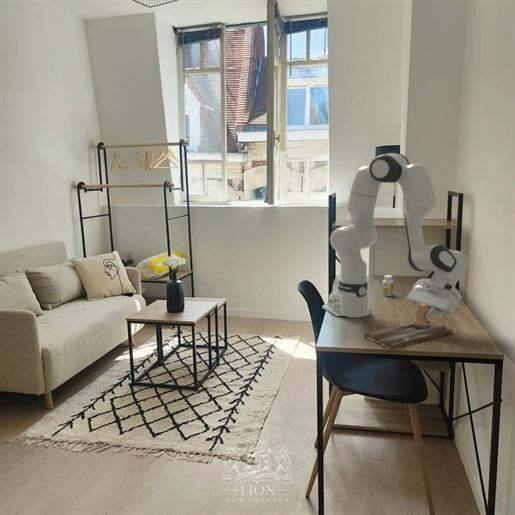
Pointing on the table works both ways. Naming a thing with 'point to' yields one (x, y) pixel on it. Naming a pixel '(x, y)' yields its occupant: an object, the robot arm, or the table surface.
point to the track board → (407, 334)
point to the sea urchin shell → (422, 282)
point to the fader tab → (421, 317)
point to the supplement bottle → (387, 285)
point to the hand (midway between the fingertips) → (420, 316)
